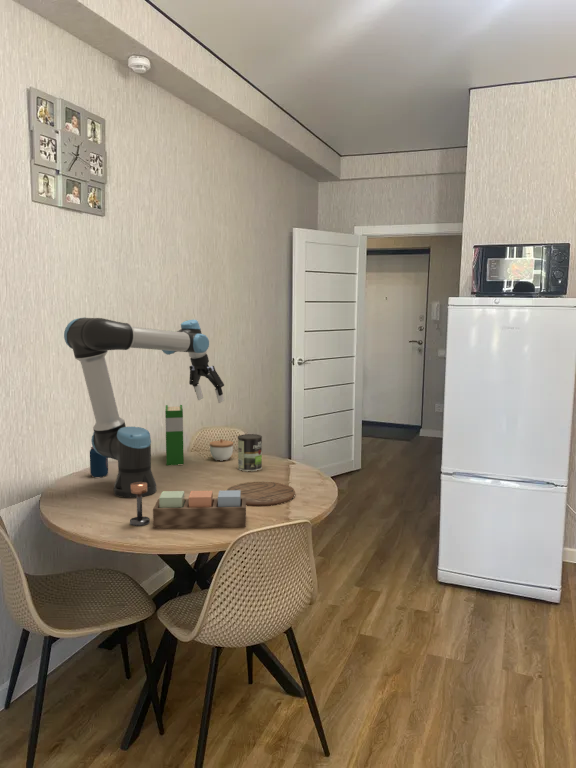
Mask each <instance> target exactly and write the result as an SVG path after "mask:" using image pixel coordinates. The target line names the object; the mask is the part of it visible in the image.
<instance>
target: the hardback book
mask: <svg viewBox="0 0 576 768" xmlns="http://www.w3.org/2000/svg"><path fill="white" fill-rule="evenodd" d="M183 408H184V407H183V404H180V405H179V406H169V405H168V404H165V415H164V416H165V457H166V459H165V460H166V461H165V464H166V465H167V466H179V465H178V464H184V462H185V461H184V410H183Z"/></svg>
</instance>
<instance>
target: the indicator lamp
mask: <svg viewBox="0 0 576 768" xmlns="http://www.w3.org/2000/svg"><path fill="white" fill-rule="evenodd" d="M146 492H147V483H146V482H135V483H132V484H131V493H132V494H137V497H136V516H135V517H132V518H131V519H130V520H129V525H130V526H132V527H133V526H134V527H143V526H147V525H149V524H150V522H151V521H150V517H148V516H143V497H142V494H143V493H146Z"/></svg>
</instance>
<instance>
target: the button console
mask: <svg viewBox="0 0 576 768" xmlns="http://www.w3.org/2000/svg"><path fill="white" fill-rule="evenodd" d="M152 520H153V521H152V522H153V523H152V525H153V527H152V528H153V529H191V528H202V529H203V528H246V525H247V506H246V498H241V504H240V507H218V497H214V498H213V504H212V507H189V498H185V503H184V506H183V507H181V508H159V498H158V499H157V501H156V503H155V504H154V506H153V509H152Z"/></svg>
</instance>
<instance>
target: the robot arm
mask: <svg viewBox="0 0 576 768" xmlns="http://www.w3.org/2000/svg"><path fill="white" fill-rule="evenodd" d="M180 328H181V329H179V330H177V331H173V330H166V329H157V328H147V327H138V326H132V325H131V324H130V323H127V322H121V321H117V320H116V321H115V320H112V319H108V318H102V317H85V316H84V317H78V318H75V319H72V320H71V321H69V322H68V323H67V325H66V326H65V329H64V333H63V339H64V342H65V343H66V345H67V346H68V347H69V348H70V349H72V351H73V355H74V358H75V359H76V360H78V361H79V362H80V365H81V369H82V372H83V376H84V381H85V385H86V388H87V391H88V396H89V400H90V404H91V408H92V411H93V416H94V420H95V424H94V425H93V427H92V428H93V433H92V436H91V447H92V446H93V448H94V450H95V451H96V452H97V453H98V454H100V455H102V456H104V457H107V458H108V459H112V460H116V461H117V466H118V469H117V470H118V471H117V475H116V479H115V482H114V486H113V495H114V496H117V497H121V498H129V499H130V498H132V499H133V498H137V494H132V493H131V484H132V483H135V482H146V483H147V492H146V493H143V494H142V498H143V497H147V496H150V495H153V494H155V493H156V492H157V483H156V480H155V477H154V475H153V471H152V448H151V446H152V439H151V433H150V432H149V430H148V429H147V428H144V427H141V426H126V422H125V419H123V418H122V417H120V414H119V411H118V410H119V409H118V407H117V402H116V398H115V393H114V389H113V386H112V383H111V378H110V373H109V370H108V366H107V361H106V355H107V354H108V351H120V350H121V351H127V350H130V349H131V348H132V349H142V350H143V349H145V350H154V351H155V350H156V351H161V352H162V353H164V354H165V355H166V356H168V355H169V356H170V355H172V354H175V353H177V352H179V353H188V356H189V360H190V363H191V365H189V368H188V369H189V382H188V383H189V385H190V386H192V387H193V390H194V392H195V394H196V397H197V398H196V399H197V401H200V400H202V399H204V395H203V392H202V386H201V385H200V383H199V382H200V380H201V377H205V378H206V379H207V380H208V381H209V382H210V383H211V384H212V386H213V387H214V391H215V394H216V398H217V403H218V404H221V403H223V402H224V401H225V399H224V395H223V394H224V393H223V389H222V387H225V384H224V382H223V381H222V379H221V377H220V376H219V373H218V372H217V370H216V368H215V366H214V365H211V366H209V361H210V359H209V356H208V354H207V352H208V349H209V348H210V340H209V338H208V336H207V335H206V334H203V333H202V331H201V330H202V329H201V326H200V323H199V321H198V319H189V320H186V321H183V322H181V324H180Z"/></svg>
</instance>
